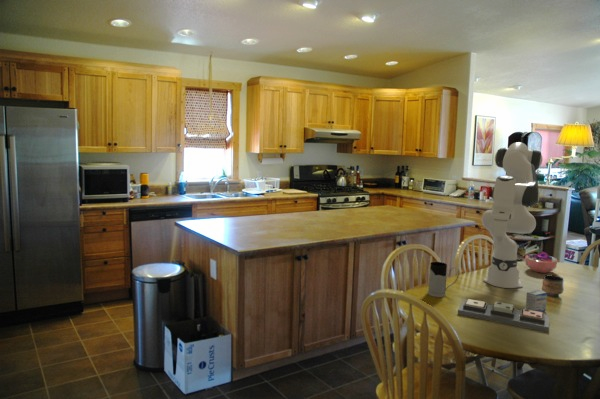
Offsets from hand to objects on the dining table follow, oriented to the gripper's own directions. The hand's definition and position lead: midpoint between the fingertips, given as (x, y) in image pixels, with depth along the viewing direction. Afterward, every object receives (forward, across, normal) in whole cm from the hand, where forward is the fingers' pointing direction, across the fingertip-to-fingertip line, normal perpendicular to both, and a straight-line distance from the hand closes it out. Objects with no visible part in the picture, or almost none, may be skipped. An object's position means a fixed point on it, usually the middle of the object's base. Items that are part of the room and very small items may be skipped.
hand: (500, 244), depth 195 cm
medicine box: (+29, -6, +16) cm, 34 cm away
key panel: (+29, +10, +4) cm, 31 cm away
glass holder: (+29, -6, -24) cm, 38 cm away
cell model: (+29, -79, +17) cm, 86 cm away
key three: (+27, +10, +15) cm, 32 cm away
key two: (+26, +10, +4) cm, 28 cm away
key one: (+27, +10, -7) cm, 30 cm away
